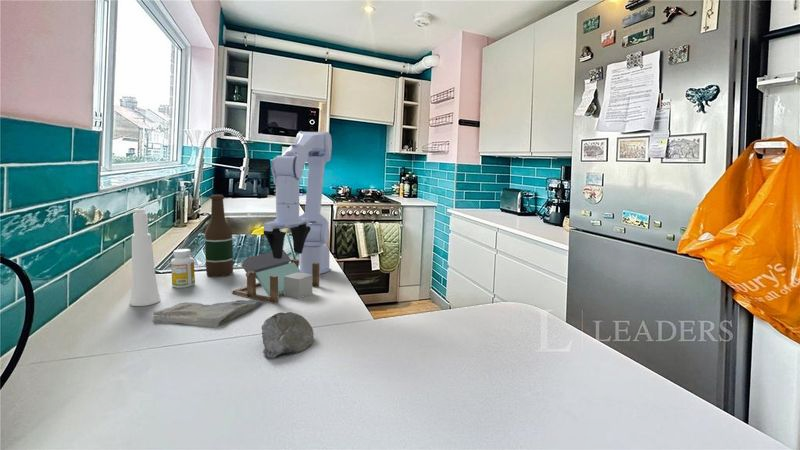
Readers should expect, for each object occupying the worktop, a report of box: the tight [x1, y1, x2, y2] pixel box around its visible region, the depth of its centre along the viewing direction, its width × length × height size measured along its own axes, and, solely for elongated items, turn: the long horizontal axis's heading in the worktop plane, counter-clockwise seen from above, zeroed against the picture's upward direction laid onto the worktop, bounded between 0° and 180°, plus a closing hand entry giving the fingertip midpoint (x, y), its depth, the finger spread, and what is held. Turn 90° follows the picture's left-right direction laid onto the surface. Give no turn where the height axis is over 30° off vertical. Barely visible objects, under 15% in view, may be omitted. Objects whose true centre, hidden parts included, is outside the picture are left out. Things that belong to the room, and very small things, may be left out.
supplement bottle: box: [170, 248, 196, 289], centre depth 103 cm, size 5×5×10 cm
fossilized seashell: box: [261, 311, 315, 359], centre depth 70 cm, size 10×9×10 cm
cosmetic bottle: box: [129, 208, 161, 307], centre depth 88 cm, size 6×6×22 cm
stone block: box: [283, 272, 313, 299], centre depth 99 cm, size 5×5×5 cm
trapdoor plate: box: [241, 249, 302, 297], centre depth 102 cm, size 14×12×3 cm
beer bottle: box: [204, 194, 234, 278], centre depth 114 cm, size 8×8×24 cm
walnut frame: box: [231, 258, 320, 304], centre depth 102 cm, size 18×14×6 cm
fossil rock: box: [153, 299, 263, 328], centre depth 85 cm, size 18×15×2 cm
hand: (288, 255), depth 99 cm, fingers open, 7 cm apart
